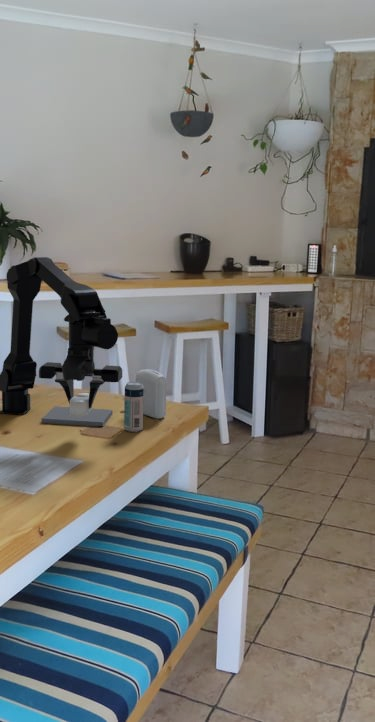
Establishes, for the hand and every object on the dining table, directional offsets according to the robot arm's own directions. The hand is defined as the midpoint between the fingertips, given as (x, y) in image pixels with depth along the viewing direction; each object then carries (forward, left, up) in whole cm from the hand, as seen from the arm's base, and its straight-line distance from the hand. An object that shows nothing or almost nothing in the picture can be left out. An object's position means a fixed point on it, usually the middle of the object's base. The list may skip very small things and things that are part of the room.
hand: (80, 407), depth 164 cm
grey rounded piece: (0, +1, -1) cm, 2 cm away
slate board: (-5, +17, -8) cm, 19 cm away
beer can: (+11, +10, -8) cm, 17 cm away
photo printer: (+13, +25, -8) cm, 29 cm away
